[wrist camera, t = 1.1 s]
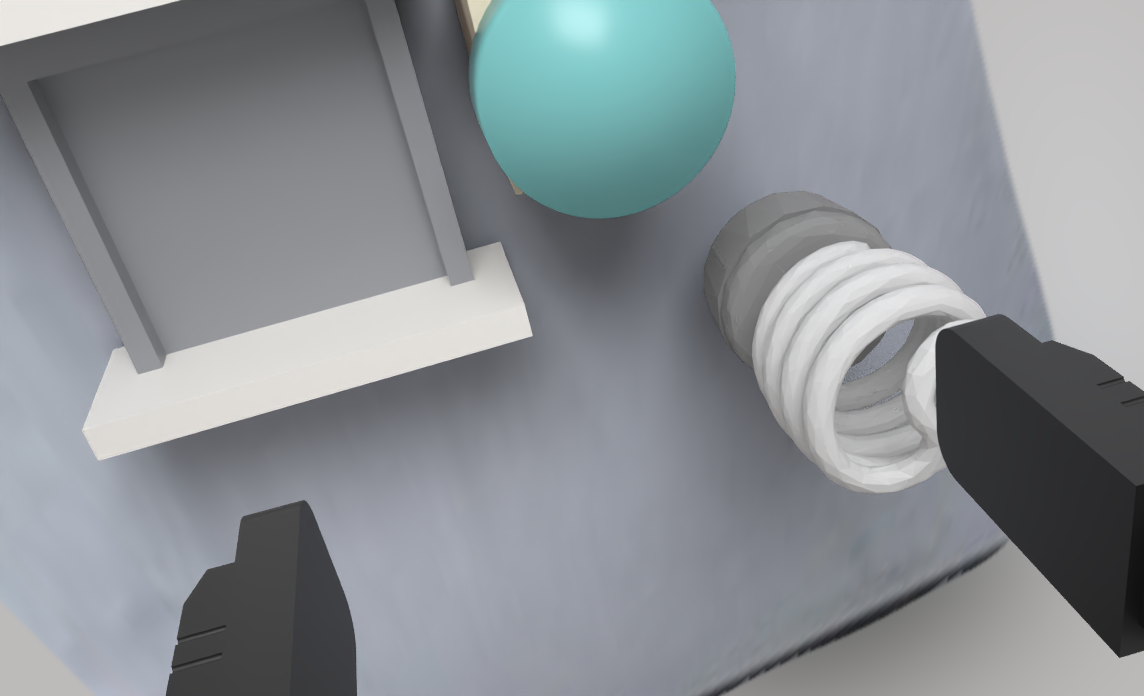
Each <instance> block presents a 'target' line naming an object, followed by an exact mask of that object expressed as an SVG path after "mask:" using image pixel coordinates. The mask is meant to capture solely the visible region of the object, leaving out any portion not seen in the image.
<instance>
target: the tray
mask: <svg viewBox="0 0 1144 696" xmlns="http://www.w3.org/2000/svg"><path fill="white" fill-rule="evenodd" d="M0 95H1V97H2V99H3V101H4V103H5V105H6V107H7V109H8V111H9V113H10V115H11V117H12V119H13V121H14V123H15V125H16V127H17V129H18V131H19V133H20V135H21V138H22V140H23V142H24V144H25V146H26V148H27V150H28V152H29V154H30V156H31V158H32V160H33V162H34V164H35V166H36V168H37V170H38V172H39V174H40V176H41V178H42V180H43V182H44V184H45V186H46V188H47V190H48V192H49V194H50V196H51V198H52V200H53V202H54V204H55V207H56V209H57V211H58V213H59V215H60V217H61V219H62V221H63V223H64V225H65V227H66V229H67V231H68V233H69V235H70V237H71V239H72V241H73V243H74V245H75V247H76V249H77V251H78V253H79V255H80V257H81V259H82V261H83V263H84V265H85V267H86V269H87V271H88V273H89V276H90V278H91V280H92V282H93V284H94V286H95V288H96V290H97V292H98V294H99V296H100V298H101V300H102V302H103V304H104V306H105V308H106V310H107V312H108V314H109V316H110V318H111V320H112V322H113V324H114V326H115V328H116V330H117V332H118V334H119V336H120V338H121V340H122V342H123V345H124V347H121V348H117V349H114V350H113V352H112V355H111V357H110V360H109V362H108V365H107V368H106V370H105V373H104V375H103V378H102V380H101V383H100V386H99V388H98V391H97V393H96V396H95V398H94V401H93V403H92V406H91V409H90V411H89V414H88V416H87V419H86V421H85V424H84V427H83V429H82V431H83V433H84V435H85V437H86V439H87V441H88V443H89V444H90V446H91V448H92V450H93V452H94V454H95V455H96V457H97V459H98V461H100V460H103V459H107V458H110V457H114V456H117V455H121V454H124V453H128V452H131V451H135V450H138V449H141V448H145V447H148V446H152V445H155V444H159V443H162V442H166V441H169V440H173V439H176V438H180V437H183V436H187V435H190V434H194V433H197V432H201V431H204V430H208V429H211V428H215V427H218V426H222V425H225V424H229V423H232V422H235V421H239V420H242V419H246V418H249V417H253V416H256V415H260V414H263V413H267V412H270V411H274V410H277V409H281V408H284V407H288V406H291V405H295V404H298V403H302V402H305V401H309V400H312V399H316V398H319V397H322V396H326V395H329V394H333V393H336V392H340V391H343V390H347V389H350V388H354V387H357V386H361V385H364V384H368V383H371V382H375V381H378V380H382V379H385V378H389V377H392V376H396V375H399V374H403V373H406V372H410V371H413V370H416V369H420V368H423V367H427V366H430V365H434V364H437V363H441V362H444V361H448V360H451V359H455V358H458V357H462V356H465V355H469V354H472V353H476V352H479V351H483V350H486V349H490V348H493V347H497V346H500V345H504V344H507V343H510V342H514V341H517V340H521V339H524V338H528V337H531V336H533V335H532V331H531V327H530V323H529V320H528V316H527V312H526V308H525V304H524V302H523V299H522V297H521V294H520V291H519V289H518V286H517V284H516V281H515V278H514V276H513V273H512V271H511V268H510V265H509V263H508V260H507V258H506V255H505V253H504V250H503V247H502V245H501V242H497V243H493V244H489V245H486V246H482V247H479V248H475V249H472V250H468V251H466V249H465V245H464V242H463V238H462V235H461V231H460V228H459V224H458V221H457V217H456V214H455V210H454V207H453V203H452V200H451V196H450V193H449V189H448V186H447V182H446V179H445V175H444V172H443V168H442V165H441V161H440V158H439V154H438V151H437V147H436V144H435V140H434V137H433V133H432V130H431V126H430V123H429V119H428V116H427V112H426V109H425V105H424V102H423V98H422V95H421V91H420V88H419V84H418V81H417V77H416V74H415V70H414V67H413V63H412V60H411V56H410V53H409V49H408V46H407V42H406V39H405V36H404V32H403V29H402V25H401V22H400V18H399V15H398V11H397V8H396V4H395V1H394V0H179V1H175V2H171V3H167V4H163V5H159V6H155V7H152V8H148V9H144V10H140V11H136V12H132V13H128V14H124V15H120V16H116V17H112V18H108V19H104V20H101V21H97V22H93V23H89V24H85V25H81V26H77V27H73V28H69V29H65V30H61V31H57V32H53V33H49V34H46V35H42V36H38V37H34V38H30V39H26V40H22V41H18V42H14V43H10V44H6V45H2V46H0Z"/></svg>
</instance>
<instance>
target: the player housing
mask: <svg viewBox="0 0 1144 696" xmlns="http://www.w3.org/2000/svg"><path fill="white" fill-rule="evenodd" d="M175 1H179V0H0V46H2V45H6V44H10V43H14V42H18V41H22V40H26V39H30V38H34V37H38V36H42V35H46V34H49V33H53V32H57V31H61V30H65V29H69V28H73V27H77V26H81V25H85V24H89V23H93V22H97V21H101V20H104V19H108V18H112V17H116V16H120V15H124V14H128V13H132V12H136V11H140V10H144V9H148V8H152V7H155V6H159V5H163V4H167V3H171V2H175Z"/></svg>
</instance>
